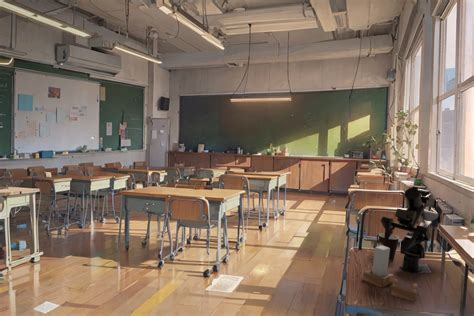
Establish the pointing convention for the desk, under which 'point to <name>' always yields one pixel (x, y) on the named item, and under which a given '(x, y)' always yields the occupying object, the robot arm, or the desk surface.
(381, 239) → the coffee mug
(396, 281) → the end cap
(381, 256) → the slat
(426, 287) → the desk surface
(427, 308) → the desk surface
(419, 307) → the desk surface
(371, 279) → the end cap
